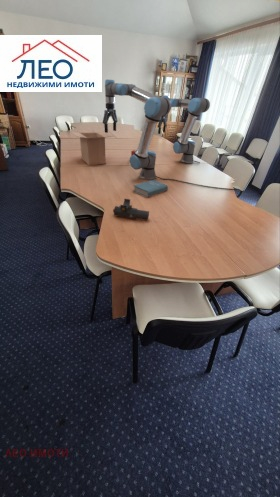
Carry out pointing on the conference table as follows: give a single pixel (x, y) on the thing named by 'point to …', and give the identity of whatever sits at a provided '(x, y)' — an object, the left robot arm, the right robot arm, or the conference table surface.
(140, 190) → the book
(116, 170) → the conference table surface
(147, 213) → the laser sight
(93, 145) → the box
